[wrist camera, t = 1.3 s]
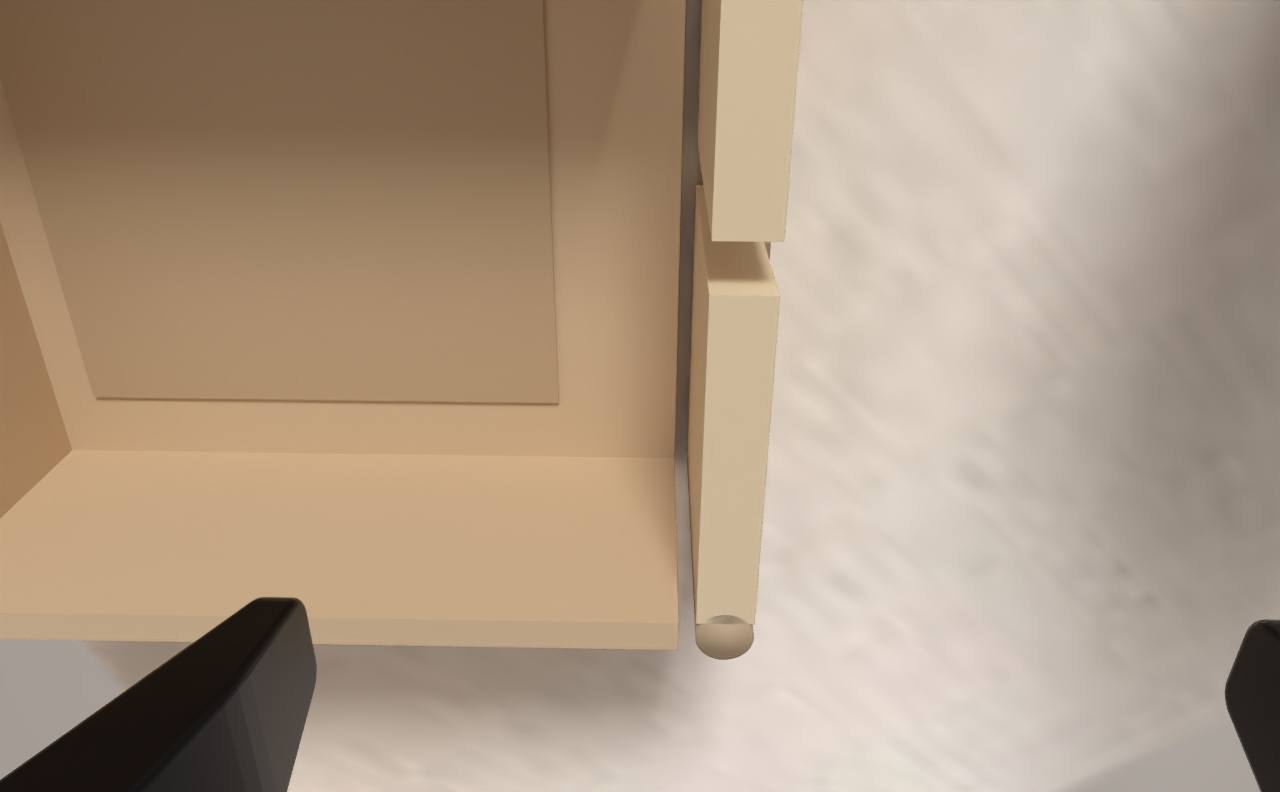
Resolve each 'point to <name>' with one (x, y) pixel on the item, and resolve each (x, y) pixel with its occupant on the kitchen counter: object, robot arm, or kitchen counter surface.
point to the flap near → (747, 115)
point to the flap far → (728, 431)
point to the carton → (341, 318)
